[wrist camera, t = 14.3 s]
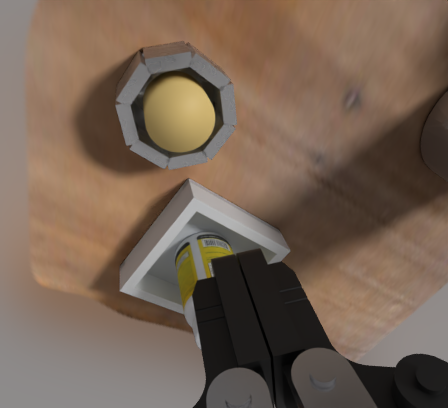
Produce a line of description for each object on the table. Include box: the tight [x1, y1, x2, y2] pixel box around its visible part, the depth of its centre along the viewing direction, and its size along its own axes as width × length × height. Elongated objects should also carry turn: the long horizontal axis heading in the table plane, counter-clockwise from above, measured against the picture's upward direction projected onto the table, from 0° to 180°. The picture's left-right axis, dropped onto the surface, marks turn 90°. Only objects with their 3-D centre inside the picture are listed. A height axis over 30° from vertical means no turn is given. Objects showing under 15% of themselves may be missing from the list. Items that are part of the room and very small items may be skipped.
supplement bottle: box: [175, 232, 234, 350], centre depth 29 cm, size 5×5×8 cm
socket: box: [115, 41, 237, 170], centre depth 24 cm, size 7×7×3 cm
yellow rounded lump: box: [143, 71, 215, 152], centre depth 23 cm, size 4×4×3 cm
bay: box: [120, 178, 291, 314], centre depth 31 cm, size 10×10×3 cm
